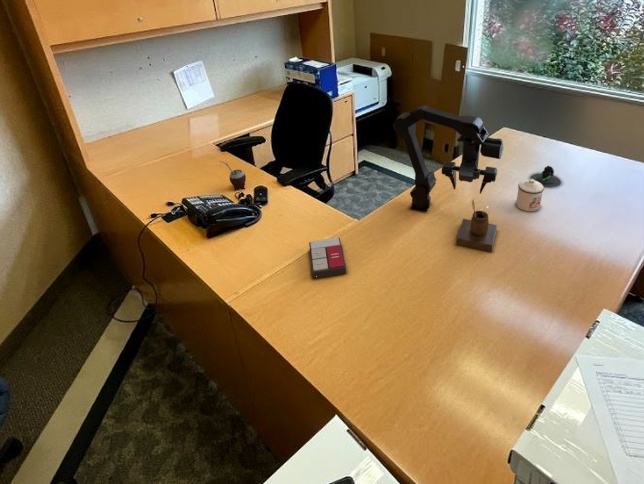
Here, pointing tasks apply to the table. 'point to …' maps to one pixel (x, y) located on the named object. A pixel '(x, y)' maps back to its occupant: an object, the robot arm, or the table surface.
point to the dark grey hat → (547, 178)
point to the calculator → (327, 258)
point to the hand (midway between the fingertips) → (467, 191)
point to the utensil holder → (479, 221)
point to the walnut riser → (476, 237)
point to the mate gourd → (237, 178)
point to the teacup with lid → (529, 195)
